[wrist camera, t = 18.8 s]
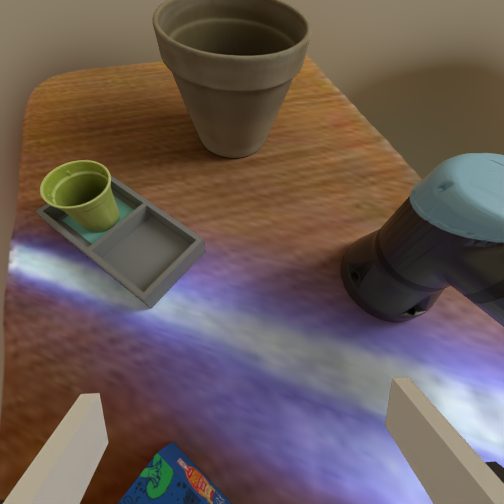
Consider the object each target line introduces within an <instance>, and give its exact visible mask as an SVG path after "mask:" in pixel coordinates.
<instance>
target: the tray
mask: <svg viewBox="0 0 504 504" xmlns="http://www.w3.org/2000/svg"><path fill="white" fill-rule="evenodd" d="M111 190H112V193H113V196H114V199H115V202H116V204H117V207H118V210H119V214H120V216H119V220H118V221H117V222H116V223H115V224H114V225H113V227H112V228H110V229H108V230H106V231H102V232H92V231H90V230H87V229H85V228H84V227H83V226H82V225H81V224H79V223H78V222H77V221H76V220H74V219H73V218H72V217H71V216H69V215H68V214H67V213H66V212H64V211H63V210H60V209H59V208H56V207H53V206H51V205H49V204H48V203H47V204H46V205H44V206H43V207H41V208H40V209H38V210H37V211H35V212H36V213H37V214H38V215H39V216H40V217H41V218H42V219H43V220H44V221H45V222H46V223H48V224H49V225H50V226H51V227H52V228H53V229H54V230H56V231H57V232H58V233H59V234H61V235H62V236H63V237H64V238H65V239H67V240H68V241H69V242H70V243H72V244H73V245H74V246H75V247H76V248H78V249H79V250H80V251H81V252H83V253H84V254H85V255H86V256H87V257H89V258H90V259H91V260H92V261H94V262H95V263H96V264H97V265H98V266H100V267H101V268H102V269H103V270H105V271H106V272H107V273H108V274H109V275H111V276H112V277H113V278H114V279H116V280H117V281H118V282H119V283H120V284H122V285H123V286H124V287H125V288H127V289H128V290H129V291H130V292H131V293H133V294H134V295H135V296H136V297H138V298H139V299H140V300H141V301H142V302H144V303H145V304H146V305H147V306H149V307H150V308H152V307H153V306H154V305H155V304H156V303H157V302H158V301H159V300H160V299H161V298H162V297H163V296H164V294H165V293H166V292H167V291H168V290H169V289H170V288H171V287H172V286H173V285H174V284H175V283H176V282H177V281H178V280H179V279H180V278H181V277H182V276H183V275H184V274H185V272H186V271H187V270H188V269H189V268H190V267H191V266H192V265H193V264H194V263H195V262H196V261H197V260H198V259H199V258H200V257H201V256H202V255H203V254H204V253H205V252H206V250H205V244H204V239H203V238H201V237H200V236H198V235H197V234H195V233H194V232H193V231H191V230H190V229H188V228H187V227H185V226H184V225H182V224H181V223H179V222H178V221H177V220H175V219H174V218H172V217H171V216H169V215H168V214H166V213H165V212H163V211H162V210H161V209H159V208H158V207H156V206H155V205H153V204H152V203H150V202H149V201H147V200H146V199H145V198H143V197H142V196H140V195H139V194H137V193H136V192H134V191H133V190H131V189H130V188H129V187H127V186H126V185H124V184H123V183H121V182H120V181H118V180H117V179H115V178H114V177H113V176H111Z"/></svg>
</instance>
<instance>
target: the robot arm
mask: <svg viewBox="0 0 504 504" xmlns="http://www.w3.org/2000/svg"><path fill="white" fill-rule="evenodd" d="M341 273H342V279H343V282H344V285H345V287H346V289H347V291H348V293H349V294H350V296H351V297H352V299H353V300H354V301H355V302H356V303H357V304H358V305H359V306H360V307H361V308H363V309H364V310H365V311H367V312H368V313H370V314H371V315H373V316H375V317H378V318H380V319H383V320H387V321H394V322H401V321H407V320H411V319H413V318H415V317H418V316H420V315H422V314H424V313H425V312H426V311H428V310H429V309H430V308H431V307H432V306H433V304H434V303H435V302H436V300H437V299H438V297H439V296H440V294H441V293H442V292H443V290H444V289H445V288H447V287H449V286H452V287H454V288H455V289H456V290H458V291H459V292H460V293H462V294H463V295H464V296H465V297H467V298H468V299H469V300H471V301H472V302H473V303H474V304H475V305H477V306H478V307H479V308H481V309H482V310H483V311H484V312H486V313H487V314H488V315H489V316H491V317H492V318H493V319H495V320H496V321H497V322H498V323H500V324H501V325H502V326H503V327H504V155H499V154H491V153H481V154H477V153H469V154H463V155H458V156H455V157H453V158H450V159H448V160H446V161H444V162H442V163H441V164H439V165H438V166H437V167H436V168H435V169H434V170H433V171H432V172H431V173H430V174H429V175H428V176H427V177H426V178H425V179H424V180H422V181H421V182H419V183H418V184H417V185H416V186H415V187H414V188H413V190H412V191H411V195H410V196H409V197H408V199H407V200H406V201H405V202H404V203H403V204H402V205H401V206H400V207H399V209H398V210H397V211H396V212H395V213H394V214H393V215H392V216H391V217H390V219H389V220H388V221H387V222H386V223H385V224H384V225H383V226H382V228H381V229H379V230H377V231H375V232H373V233H370V234H368V235H366V236H364V237H362V238H360V239H359V240H357V241H356V242H355V243H354V244H353V245H352V246H351V247H350V248H349V250H348V251H347V252H346V254H345V256H344V258H343V261H342V266H341ZM385 426H386V428H387V429H388V431H389V433H390V434H391V436H392V437H393V439H394V441H395V442H396V444H397V446H398V447H399V449H400V450H401V452H402V454H403V455H404V457H405V458H406V460H407V462H408V463H409V465H410V466H411V468H412V470H413V471H414V473H415V474H416V476H417V478H418V479H419V481H420V482H421V484H422V486H423V487H424V489H425V491H426V492H427V494H428V495H429V497H430V499H431V500H432V502H433V503H434V504H504V468H503V467H502V466H501V465H499V464H498V463H497V462H484V461H483V460H482V459H481V458H480V456H479V455H478V454H477V453H476V452H475V451H474V450H473V449H472V448H471V446H470V445H469V444H468V443H467V442H466V441H465V440H464V439H463V437H462V436H461V435H460V434H459V433H458V432H457V431H456V430H455V429H454V427H453V426H452V425H451V424H450V423H449V422H448V421H447V420H446V418H445V417H444V416H443V415H442V414H441V413H440V412H439V411H438V410H437V408H436V407H435V406H434V405H433V404H432V403H431V402H430V401H429V400H428V398H427V397H426V396H425V395H424V394H423V393H422V392H421V391H420V389H419V388H418V387H417V386H416V385H415V384H414V383H413V382H412V381H411V379H410V378H409V377H401V378H393V379H392V385H391V391H390V397H389V403H388V409H387V416H386V422H385ZM107 445H108V438H107V433H106V427H105V422H104V416H103V411H102V405H101V399H100V394H99V393H93V394H81V395H80V396H79V397H78V399H77V400H76V402H75V403H74V404H73V406H72V407H71V409H70V410H69V411H68V413H67V414H66V416H65V417H64V418H63V420H62V421H61V423H60V424H59V425H58V427H57V428H56V430H55V431H54V432H53V434H52V435H51V437H50V438H49V439H48V441H47V442H46V444H45V445H44V446H43V448H42V449H41V451H40V452H39V453H38V455H37V456H36V458H35V459H34V460H33V462H32V463H31V465H30V466H29V467H28V469H27V470H26V472H25V473H24V474H23V476H22V477H21V479H20V480H19V482H18V483H17V484H16V486H15V487H14V489H13V490H12V491H11V493H10V494H9V496H8V497H7V498H6V500H0V504H80V502H81V500H82V497H83V495H84V493H85V491H86V489H87V487H88V485H89V483H90V481H91V479H92V476H93V474H94V472H95V470H96V468H97V466H98V464H99V462H100V460H101V457H102V455H103V453H104V451H105V449H106V447H107Z"/></svg>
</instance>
